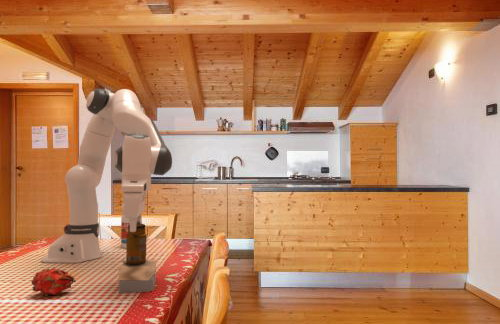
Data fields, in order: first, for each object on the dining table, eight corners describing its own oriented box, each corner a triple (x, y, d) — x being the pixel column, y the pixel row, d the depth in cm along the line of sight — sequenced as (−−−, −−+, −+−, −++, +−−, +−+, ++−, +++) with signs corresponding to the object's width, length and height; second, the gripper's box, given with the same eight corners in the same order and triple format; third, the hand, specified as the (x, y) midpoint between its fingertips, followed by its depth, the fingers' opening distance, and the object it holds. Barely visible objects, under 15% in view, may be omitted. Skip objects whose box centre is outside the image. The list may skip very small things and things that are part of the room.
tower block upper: (118, 280, 114) (118, 267, 114) (129, 271, 123) (129, 259, 123) (147, 280, 114) (147, 267, 114) (156, 272, 123) (156, 259, 123)
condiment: (142, 258, 123) (143, 221, 123) (153, 264, 117) (153, 226, 116) (120, 261, 119) (120, 224, 118) (130, 268, 112) (130, 229, 112)
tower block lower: (118, 294, 112) (118, 281, 112) (124, 284, 122) (124, 272, 122) (152, 292, 114) (152, 279, 114) (155, 283, 124) (155, 271, 124)
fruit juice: (145, 245, 182) (146, 188, 182) (133, 249, 173) (133, 189, 173) (129, 244, 185) (130, 187, 186) (116, 248, 176) (117, 188, 177)
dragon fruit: (28, 300, 110) (72, 303, 113) (23, 290, 104) (70, 293, 107) (37, 272, 116) (78, 275, 119) (33, 261, 109) (77, 265, 112)
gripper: (130, 183, 127) (129, 224, 127) (120, 186, 107) (119, 234, 106) (149, 183, 128) (149, 224, 128) (143, 186, 108) (141, 234, 107)
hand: (135, 229), depth 117 cm, fingers open, 8 cm apart
